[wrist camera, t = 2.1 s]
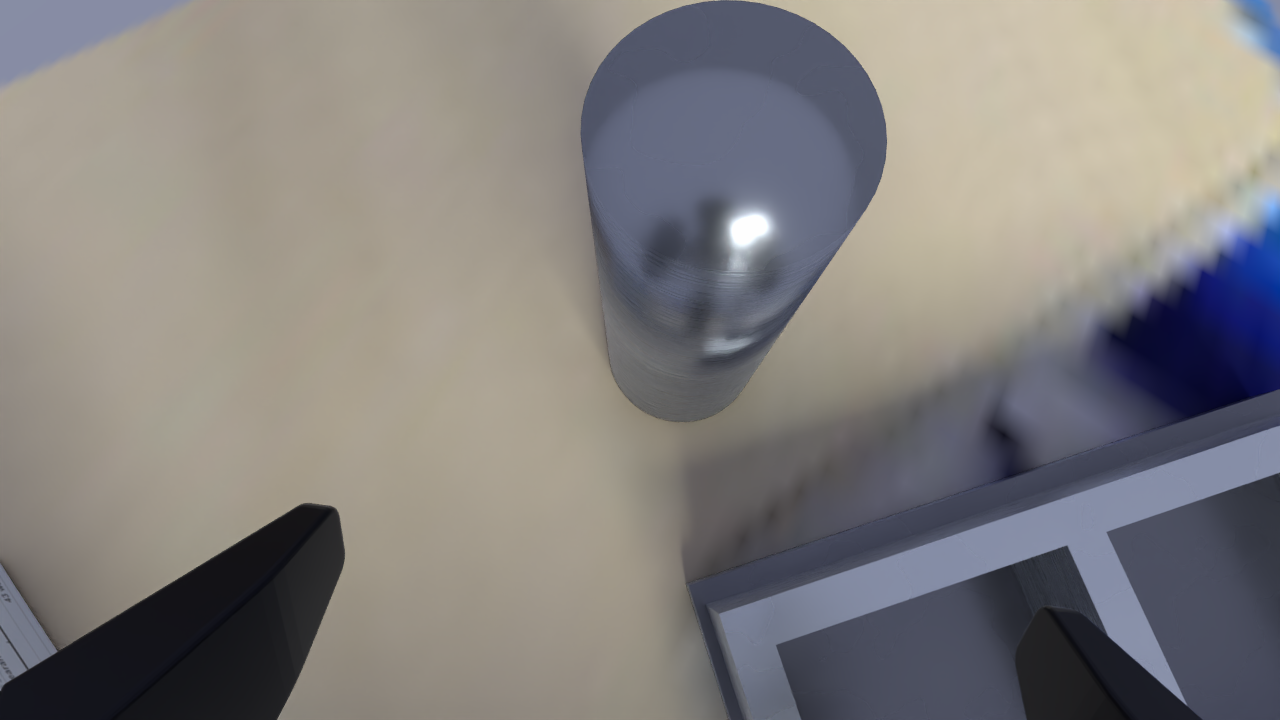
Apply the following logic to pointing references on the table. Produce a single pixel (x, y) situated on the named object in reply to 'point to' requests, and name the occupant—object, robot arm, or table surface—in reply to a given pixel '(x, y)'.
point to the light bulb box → (19, 633)
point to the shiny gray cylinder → (720, 191)
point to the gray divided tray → (1025, 585)
